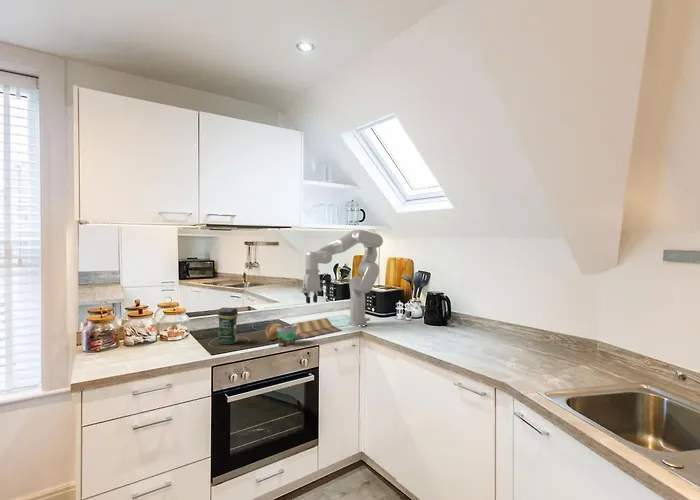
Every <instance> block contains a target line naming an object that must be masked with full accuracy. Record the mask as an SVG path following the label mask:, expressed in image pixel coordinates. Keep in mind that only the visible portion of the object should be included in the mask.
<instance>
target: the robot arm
mask: <svg viewBox="0 0 700 500" xmlns="http://www.w3.org/2000/svg"><path fill="white" fill-rule="evenodd" d="M383 243H384V240H383V237H382V236H381V235H380V234H378V233H376V232H371V231H368V230H365V229H353V230H351V231H349V232H348V233H346V234H345V235H343V236H342V237H340V238H339V239H337V240H335V241H333V242H330V243H329V244H327V245H324V246H323V247H320V248H319V249H318V250H316V251H306V252H305V274H303V280H302V289H301V293H302V294H303V295H304V296H305V302H306V304H311V296H310V294H311V292H312V293H313V296H312V302H313V303H315V304H316V303H318V296H319V294H320V293H321V292H322V290H323V289H322V287H321V278H320V274H319V273H320V272H321V271H320V269H319V264H322V265H323V264H324V265H327V264H330V263H331V262H332V260H333V256H334V255H337V254H341V253H346V252H347V251H348V250H349V249H351V248H353V247H354V246H355V245H358V244H362V245H363V248H364V253H363V257H362V259H361V261H360V263H359V265H358V267H357V272H358V274H359V275H360V276H358V275H356V276H353V277H351V278H350V280H349V283H348V285H349V292H350V295H349V296H350V308H349V309H350V310H349V313H350V314H349V315H350V316H349V317H350V318H349V321H348V322H347V325H348V326H350V325H351V326H352V327H358V326H359V325H360V326H363V325H366V324H367V325H368V323H367V322H369V321H371V318H370V317H366V294H369V293H370V292H371V291H372V290H373V287H374V286H375V284H376V281H377V279H378V276H379V274H380V267H379V265H378V263H376V260H377V259H378V250H377V249H378V248H380V247H381V246H383ZM351 326H350V327H351Z"/></svg>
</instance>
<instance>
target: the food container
mask: <svg viewBox="0 0 700 500" xmlns="http://www.w3.org/2000/svg"><path fill="white" fill-rule="evenodd" d="M294 323H295V322H292V324H293V325H291V324H290V325H285V326H283V328H280V327H277V331H278V338H277V343H278V347H282V348H288V347H289V346H291V345H293V344H296V336H297V335H296V330H297V325H296V324H294Z"/></svg>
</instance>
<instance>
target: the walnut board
mask: <svg viewBox="0 0 700 500" xmlns="http://www.w3.org/2000/svg"><path fill="white" fill-rule="evenodd" d="M342 331H343V329H341V328H338V327H334V326H333V327H332V328H327V329H322V330H317V331H312V332H306V333H301V334H298V335H297V336H299V337H301V338H303V339H309V338H314V337H320V336H323V335H329V334H334V333H338V332H342Z"/></svg>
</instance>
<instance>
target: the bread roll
mask: <svg viewBox="0 0 700 500" xmlns="http://www.w3.org/2000/svg"><path fill="white" fill-rule="evenodd" d="M277 327H280V328H283V327H284V325H283V324H281V323H277V322H272V323H270V324H268V325H267V326H266V328H265V336H266V339H267V340H269V341H273V340H278V331H277Z"/></svg>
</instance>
